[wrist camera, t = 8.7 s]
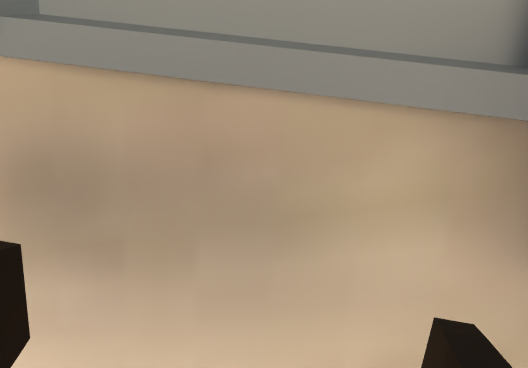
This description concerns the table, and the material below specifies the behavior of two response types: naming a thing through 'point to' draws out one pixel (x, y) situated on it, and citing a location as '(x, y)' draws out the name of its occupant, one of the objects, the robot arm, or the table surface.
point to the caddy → (296, 46)
